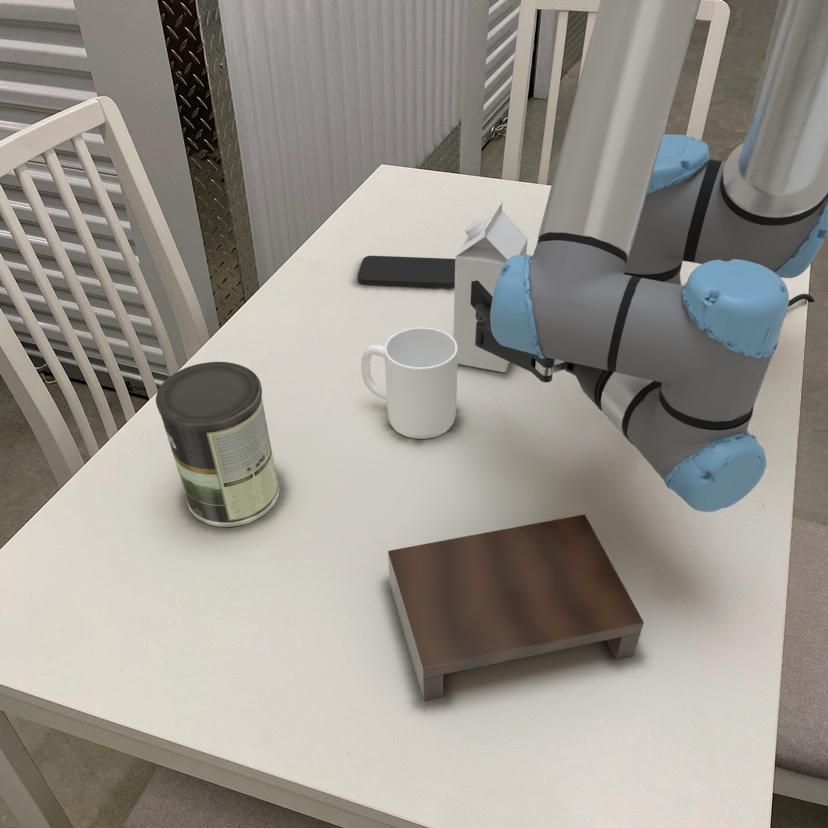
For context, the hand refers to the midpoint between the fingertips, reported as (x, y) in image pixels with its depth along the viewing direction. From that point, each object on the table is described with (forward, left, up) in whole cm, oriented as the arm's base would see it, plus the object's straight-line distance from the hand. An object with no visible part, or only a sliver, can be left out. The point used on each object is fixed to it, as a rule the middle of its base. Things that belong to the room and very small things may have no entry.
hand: (529, 279), depth 91 cm
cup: (+14, 0, -16) cm, 21 cm away
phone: (+6, -33, -16) cm, 37 cm away
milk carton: (+1, -10, -16) cm, 19 cm away
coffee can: (+36, +9, -16) cm, 41 cm away
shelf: (+12, +33, -16) cm, 39 cm away
